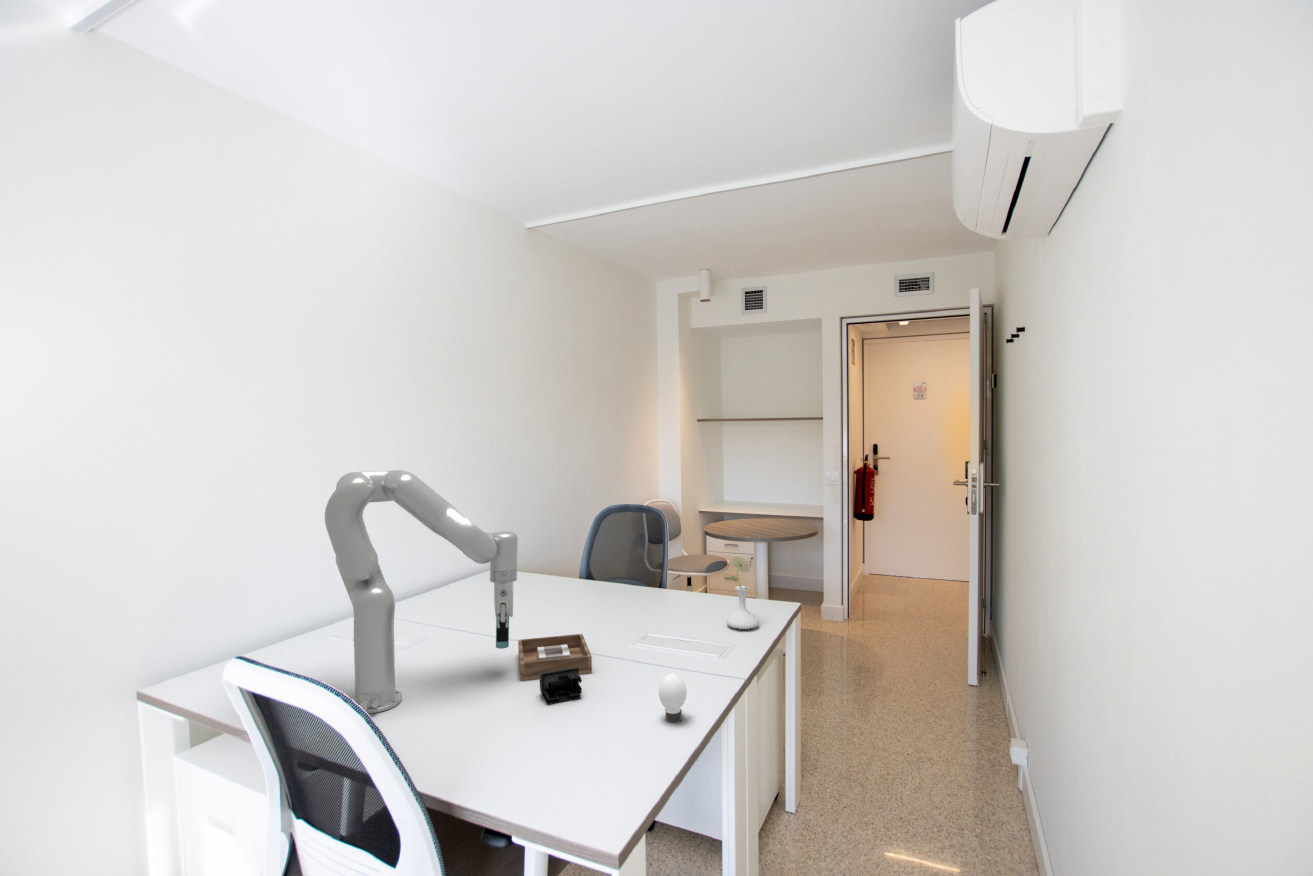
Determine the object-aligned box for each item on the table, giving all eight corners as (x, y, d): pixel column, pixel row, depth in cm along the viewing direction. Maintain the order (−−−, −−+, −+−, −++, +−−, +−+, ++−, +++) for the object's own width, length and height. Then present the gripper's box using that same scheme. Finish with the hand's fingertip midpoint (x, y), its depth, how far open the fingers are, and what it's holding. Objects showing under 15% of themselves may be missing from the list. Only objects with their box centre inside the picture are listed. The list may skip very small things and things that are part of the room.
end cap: (576, 688, 171) (575, 663, 171) (583, 699, 164) (582, 673, 164) (539, 695, 167) (539, 670, 167) (545, 706, 160) (545, 680, 160)
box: (591, 673, 181) (591, 656, 180) (520, 681, 176) (520, 663, 176) (582, 649, 200) (582, 633, 200) (518, 655, 195) (518, 639, 195)
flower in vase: (765, 629, 217) (764, 557, 216) (736, 634, 213) (735, 560, 212) (746, 618, 229) (745, 550, 228) (718, 622, 225) (717, 553, 224)
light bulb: (692, 718, 153) (691, 673, 152) (674, 728, 148) (674, 682, 147) (671, 710, 157) (670, 666, 157) (653, 719, 152) (652, 674, 152)
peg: (508, 648, 178) (509, 613, 178) (495, 649, 178) (496, 613, 178) (508, 644, 182) (509, 609, 182) (495, 644, 181) (496, 610, 181)
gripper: (517, 581, 173) (516, 647, 173) (516, 568, 189) (514, 629, 189) (489, 582, 171) (488, 649, 171) (490, 569, 187) (489, 631, 187)
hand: (502, 638), depth 180 cm, fingers closed on peg, 3 cm apart
